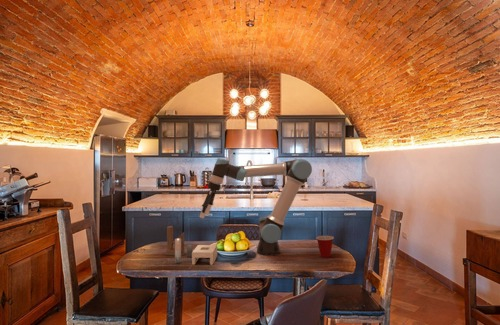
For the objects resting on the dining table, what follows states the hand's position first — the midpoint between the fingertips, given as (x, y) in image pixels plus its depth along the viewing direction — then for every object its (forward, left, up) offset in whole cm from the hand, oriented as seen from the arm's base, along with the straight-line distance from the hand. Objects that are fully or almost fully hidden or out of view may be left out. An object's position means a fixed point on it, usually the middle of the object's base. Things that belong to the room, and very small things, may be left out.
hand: (203, 216), depth 193 cm
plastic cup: (-74, -10, -26) cm, 79 cm away
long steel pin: (+14, +6, -26) cm, 30 cm away
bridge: (-1, +1, -26) cm, 26 cm away
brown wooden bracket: (+20, -9, -26) cm, 34 cm away
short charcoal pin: (+10, -6, -26) cm, 29 cm away
